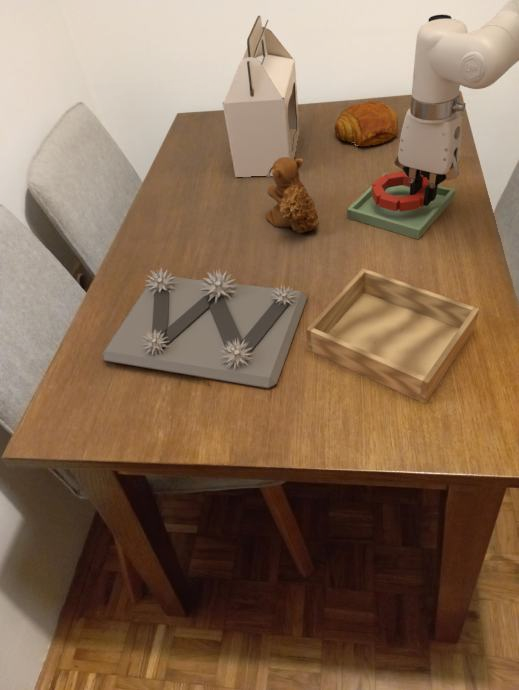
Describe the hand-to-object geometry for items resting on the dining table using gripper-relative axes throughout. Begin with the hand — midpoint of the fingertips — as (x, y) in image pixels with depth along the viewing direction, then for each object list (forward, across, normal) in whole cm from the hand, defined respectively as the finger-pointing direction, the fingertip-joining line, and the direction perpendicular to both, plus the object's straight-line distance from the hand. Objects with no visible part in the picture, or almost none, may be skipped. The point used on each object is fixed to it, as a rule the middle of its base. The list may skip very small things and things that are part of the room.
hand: (422, 199), depth 102 cm
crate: (+3, -12, +34) cm, 36 cm away
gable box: (+4, +43, -7) cm, 44 cm away
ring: (0, +4, 0) cm, 5 cm away
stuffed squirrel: (+3, +20, +14) cm, 25 cm away
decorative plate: (+3, +15, +47) cm, 50 cm away
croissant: (+4, +26, -25) cm, 36 cm away
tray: (+3, +4, 0) cm, 5 cm away
